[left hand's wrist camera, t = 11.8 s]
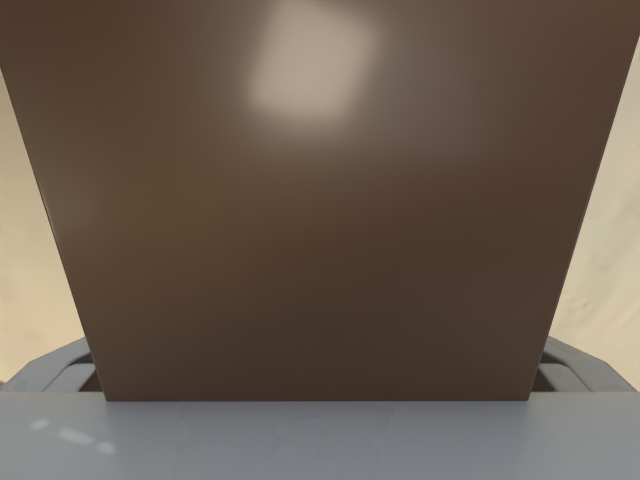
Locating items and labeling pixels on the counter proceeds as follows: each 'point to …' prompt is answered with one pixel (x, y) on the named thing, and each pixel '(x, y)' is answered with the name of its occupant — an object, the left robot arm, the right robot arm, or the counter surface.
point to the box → (316, 186)
